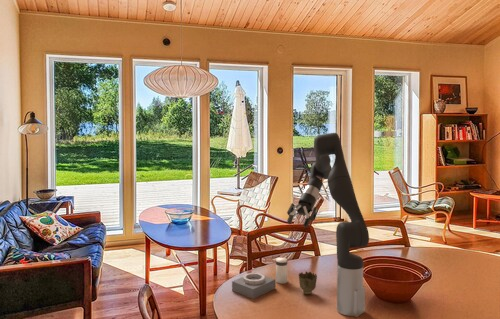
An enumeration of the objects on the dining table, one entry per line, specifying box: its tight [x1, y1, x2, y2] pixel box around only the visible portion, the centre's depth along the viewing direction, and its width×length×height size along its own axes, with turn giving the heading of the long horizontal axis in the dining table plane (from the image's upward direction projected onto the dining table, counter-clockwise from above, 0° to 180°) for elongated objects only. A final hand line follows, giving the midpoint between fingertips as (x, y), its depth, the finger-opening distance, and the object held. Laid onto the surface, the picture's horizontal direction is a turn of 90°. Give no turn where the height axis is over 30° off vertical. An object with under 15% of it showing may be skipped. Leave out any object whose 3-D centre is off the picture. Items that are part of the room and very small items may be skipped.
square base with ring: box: [231, 272, 276, 300], centre depth 159 cm, size 12×14×6 cm
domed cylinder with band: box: [275, 257, 288, 285], centre depth 168 cm, size 5×5×10 cm
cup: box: [298, 271, 318, 296], centre depth 155 cm, size 8×7×8 cm
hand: (296, 224), depth 176 cm, fingers open, 8 cm apart
